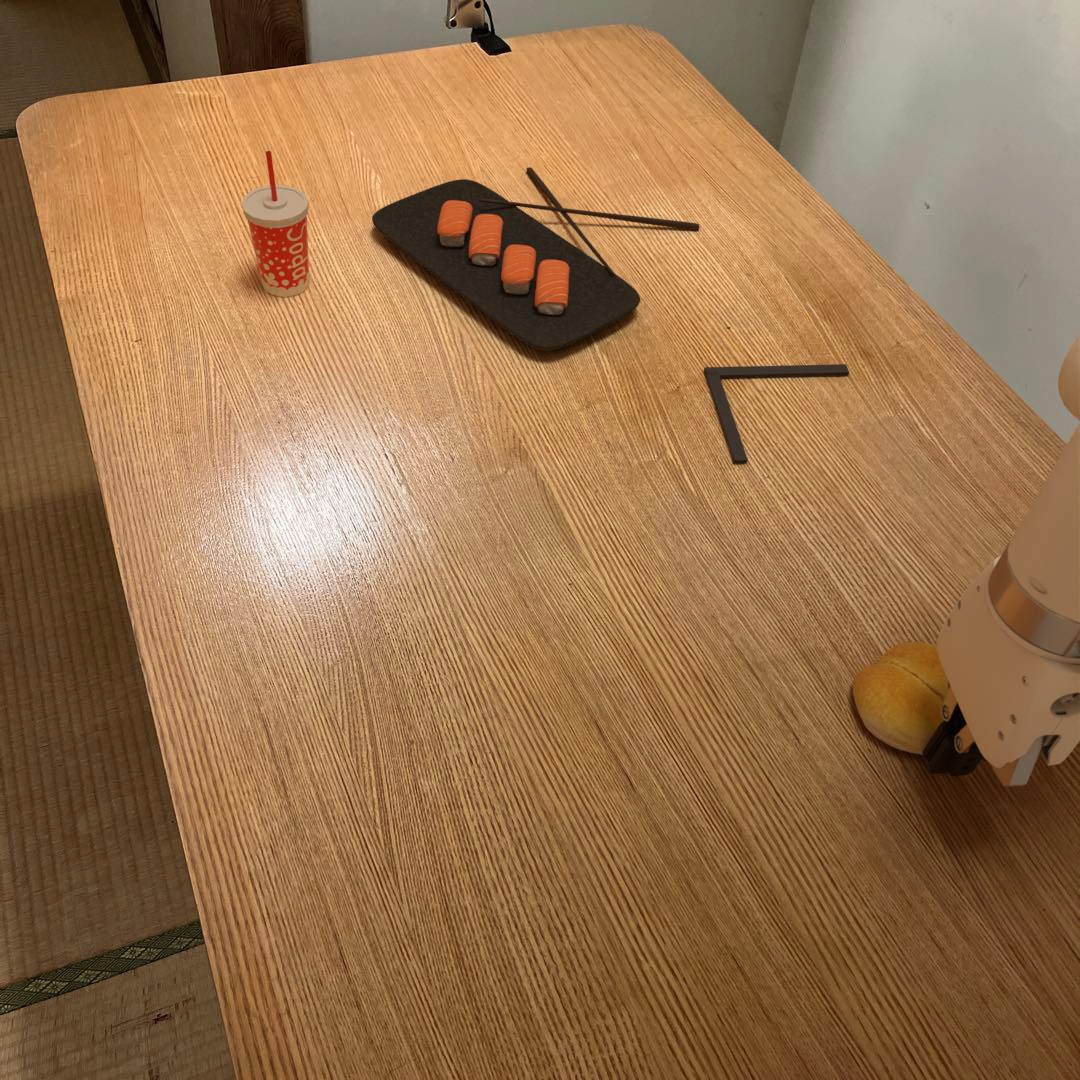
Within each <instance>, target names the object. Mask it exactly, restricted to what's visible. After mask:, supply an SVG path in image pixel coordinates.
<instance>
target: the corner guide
mask: <svg viewBox="0 0 1080 1080" xmlns="http://www.w3.org/2000/svg"><path fill="white" fill-rule="evenodd" d="M703 373H704V375H705V380H706V383H707V386H708V390H709V392H710V395H711V398H712V401H713V404H714V407H715V410H716V413H717V417H718V420H719V423H720V425H721V429H722V433H723V436H724V439H725V442H726V445H727V448H728V451H729V454H730V458H731V460H732V464H734V465H745V464H747V463H748V461H749V460H748V456H747V453H746V451H745V448H744V444H743V441H742V439H741V435H740V433H739V429H738V427H737V424H736V421H735V418H734V414H733V412H732V409H731V406H730V402H729V400H728V396H727V394H726V390H725V388H724V385H723V382H722V379H725V380H726V379H727V380H729V379H730V380H731V379H769V378H770V379H771V378H809V377H810V378H811V377H812V378H813V377H818V378H819V377H848V376H849V374H850V370H849V368H848V365H847V364H846V363H841V364H840V363H838V364H792V365H789V364H788V365H750V366H746V365H745V366H705V367H704V368H703Z"/></svg>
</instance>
